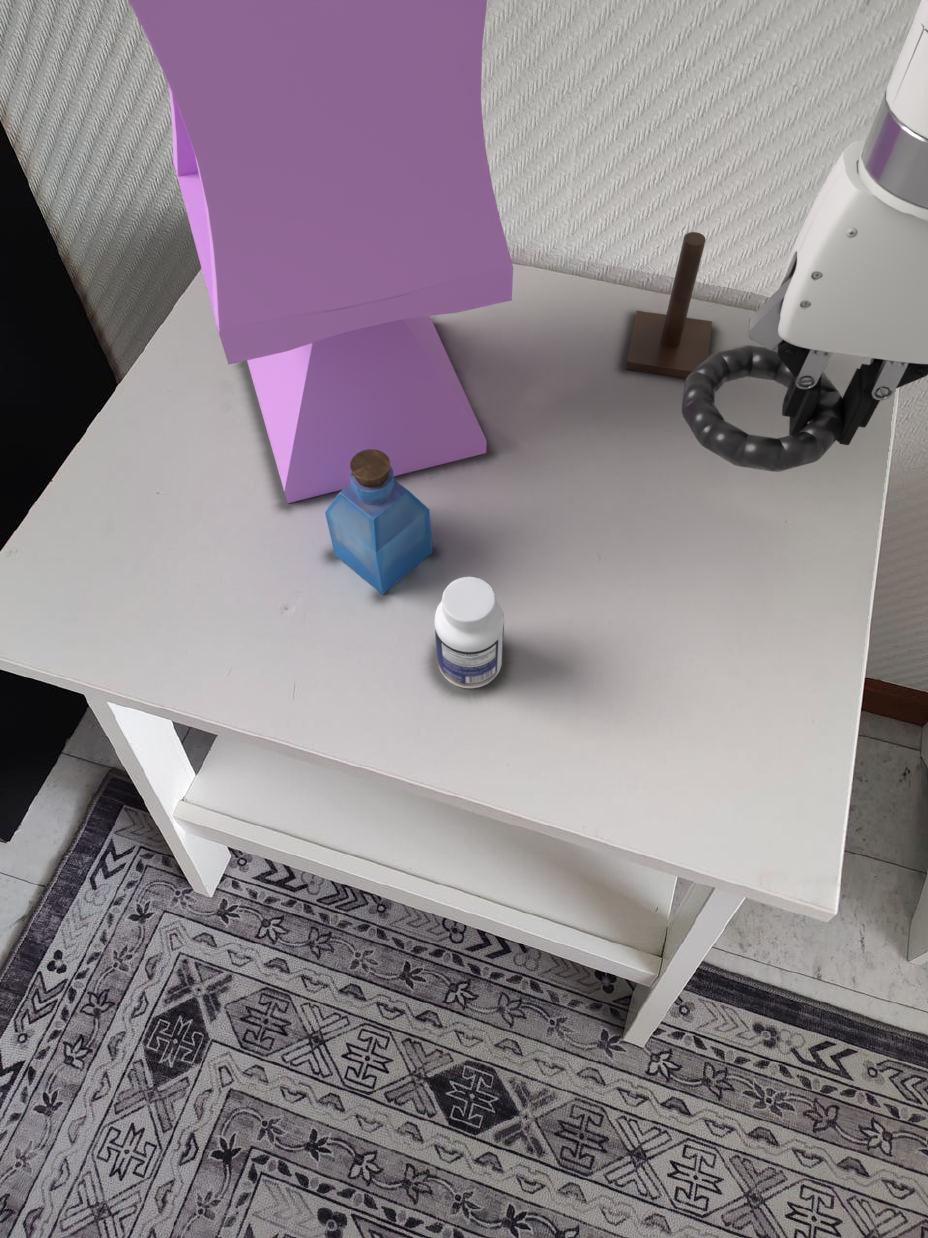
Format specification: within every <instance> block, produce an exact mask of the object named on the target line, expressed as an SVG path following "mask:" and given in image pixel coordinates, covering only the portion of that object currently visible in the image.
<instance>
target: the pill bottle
mask: <svg viewBox="0 0 928 1238" xmlns="http://www.w3.org/2000/svg"><path fill="white" fill-rule="evenodd" d="M504 615H505V614H504V611H503V608H502V606H501V604H500V603H499V601H498V599H496V594H495V591H494V589H493V588H492V586H491V585H490V584H489V583H488V582H487V581H485V580H484V579H482V578H480V577H474V576H463V577H459V578H457V579H454V580H453V581H451V582H449V584H448V585H447V586H445V589H444V590H443V593H442V597H441V600H440V602H439V603H438V605H437V608H436V610H435V613H434V635H435V645H436V657H437V663H438V668H439V671H440V672H441V674H442V676H443V677H444V678H445V680H447V681H448V682H450V683H451V684H453V685H454V686H457V687H460V688H464V689H477V688H481V687H484V686H486V685H489V684H490V683H491V682H493V680H494V679H496V677H497V676H498V674H499V673H500V671H501V668H502V665H503V657H504V634H505V633H504V632H505V616H504Z"/></svg>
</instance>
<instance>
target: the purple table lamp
mask: <svg viewBox="0 0 928 1238" xmlns="http://www.w3.org/2000/svg"><path fill="white" fill-rule="evenodd" d="M128 3H129V5H130V6H131V9H132V10H133V13H134V14H135V16H136V18H137V20H138V22H139V24H140V26H141V28H142V31H143V32H144V34H145V36H146V38H147V41H148V43H149V45H150V47H151V49H152V51H153V53H154V56H155V57H156V59H157V62H158V64H159V66H160V68H161V69H162V72H163V75H164V77H165V79H166V82H167V84H168V91H169V101H170V114H171V127H172V128H171V130H172V131H171V132H172V133H171V134H172V156H173V157H172V163H173V166H174V170H175V174H176V177H177V181H178V185H179V189H180V192H181V197H182V200H183V204H184V208H185V211H186V214H187V218H188V222H189V225H190V230H191V234H192V238H193V241H194V245H195V249H196V253H197V256H198V260H199V264H200V267H201V271H202V275H203V278H204V283H205V287H206V290H207V294H208V298H209V302H210V306H211V309H212V314H213V318H214V321H215V324H216V325H215V326H216V328H217V333H218V335H219V338H220V342H221V345H222V348H223V352H224V354H225V358H226V361H227V365H233V364H237V363H242V362H247V365H248V369H249V372H250V376H251V380H252V382H253V386H254V390H255V394H256V397H257V400H258V401H257V402H258V404H259V407H260V411H261V415H262V418H263V422H264V426H265V430H266V433H267V436H268V439H269V444H270V446H271V450H272V454H273V457H274V461H275V464H276V468H277V472H278V474H279V478H280V481H281V485H282V489H283V492H284V496H285V499H286V500H285V501H286V503H287V504H292V503H295V502H299V501H303V500H307V499H311V498H315V497H318V496H323V495H327V494H331V493H334V492H338V491H339V492H340V491H342V490H344V489H345V488H346V487H347V486H349V485H350V484H351V480H350V472H351V469H350V462H351V460H352V458H353V457H354V456H355V455H356V454H357V453H359V452H361V451H363V450H367V449H375V450H380V451H382V452H384V453H385V454H386V455H387V456H388V457H389V460H390V466H391V467H392V470H393V474H394V477H398V476H401V475H405V474H409V473H413V472H417V471H421V470H425V469H428V468H433V467H437V466H440V465H441V466H442V465H445V464H449V463H452V462H456V461H460V460H464V459H468V458H472V457H476V456H480V455H484V454H487V439H486V436H485V435H484V432H483V430H482V428H481V426H480V423H479V421H478V419H477V416H476V414H475V412H474V410H473V408H472V406H471V404H470V401H469V400H468V396H467V395H466V393H465V390H464V388H463V386H462V383H461V382H460V379H459V378H458V375H457V373H456V371H455V368H454V366H453V363H452V361H451V360H450V357H449V355H448V353H447V351H446V349H445V347H444V345H443V343H442V342H443V341H442V340H441V338H440V336H439V333H438V331H437V329H436V326H435V324H434V322H433V320H432V318H431V317H433V316H434V317H435V316H439V315H440V316H443V315H449V314H457V313H458V314H459V313H462V312H466V311H470V310H476V309H479V308H485V307H488V306H493V305H498V304H501V303H507V302H510V301H511V302H512V300H513V281H514V280H513V278H514V266H513V262H512V257H511V254H510V249H509V246H508V243H507V240H506V235H505V231H504V229H503V224H502V221H501V217H500V213H499V208H498V204H497V200H496V196H495V192H494V188H493V181H492V176H491V171H490V170H491V169H490V165H489V159H488V155H487V149H486V143H485V142H486V140H485V130H484V119H483V108H482V69H483V46H484V45H483V43H484V36H485V35H484V34H485V25H486V15H487V6H488V0H128Z"/></svg>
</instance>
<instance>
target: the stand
mask: <svg viewBox="0 0 928 1238" xmlns="http://www.w3.org/2000/svg"><path fill="white" fill-rule="evenodd" d="M706 241H707V239H706V236H705V235H704V234H702V233H700V232H697V231H690V232H687V233H685V234H684V235H683V240H682V244H681V248H680V252H679V257H678V262H677V265H676V270H675V274H674V275H675V276H674V279H673V284H672V288H671V292H670V293H671V294H670V297H669V301H668V305H667V310H666V314H665V313H657V312H650V311H644V310H636V312H635V318H634V324H633V328H632V333H631V338H630V344H629V349H628V353H627V359H626V364H625V369H626V370H630V371H631V370H632V371H637V372H643V373H652V374H656V375H663V376H671V377H678V378H683V379H686V378H687V377H688V376H689V375H690V374H691V373H692V372H693V371H694V370H695V369H696V368H697V367H698V366H699V365H700V364H701V363H702V362H703V361H704V360H706V359H707V358H708V357H709V351H710V344H711V335H712V328H713V327H712V326H713V320H706V319H699V318H692V317H687V316H688V312H689V309H690V304H691V300H692V298H693V297H692V296H693V292H694V289H695V284H696V281H697V276H698V272H699V269H700V265H701V261H702V257H703V252H704V249H705V244H706Z"/></svg>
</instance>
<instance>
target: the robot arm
mask: <svg viewBox="0 0 928 1238" xmlns="http://www.w3.org/2000/svg"><path fill="white" fill-rule="evenodd" d="M747 336H748V339H750V340H751V341H752V342H754V343H756V344H757V345H760V346H761V347H765V348H767V349H769V350H770V351H772V350H773V351H775V352H777V353H778V356H779V358H780V359H781V360H782V362H783V363H784V364H785V365H786V367H787V368H788V369H789V370H790V372H791V373H792V374H793V378H792V380H791V383H790V385H789V387H788V388H787V390H786V393H785V394H784V398H783V401H782V408H781V416H782V417H787V418H788V417H789V421H788V422H789V425H788V426H789V427H788V430H789V431H788V436H789V435H792V434H796V433H800V432H801V430H802V429H803V428H804V427H805V426H806V425H807V424H808V423H809V420H810V418H811V415H812V413H813V411H814V409H815V407H816V405H817V403H818V400H819V398H820V395H821V374H822V372H824V370H825V368H826V366H827V364H828V362H829V360H830V359H831V356H832V355H833V354H840V355H847V356H852V357H853V356H854V357H861V358H868V359H870V361H869V363H868V364H867V363H861V365H860V367H859V368H858V367H857V368H856V369H855V371H854V373H853V375H852V377H851V379H850V381H849V383H848V386H847V387H846V389H845V392H844V393H843V395H842V399H843V431H842V434H841V435H840V437H839V438H838V439H837V440H836V442H838V444H839V445H844V446H849V445H850V444H851V442H852V440H853V438H854V437H855V435H856V433H857V431H858V429H859V428H866V427H867V426H868V423H869V422H870V420H871V418H872V417H873V415H874V413H875V411H876V409H877V407H878V405H880V402H881V401H884V400H888V399H890V398H891V397H893V395H894V393H895V391H896V389H898V388H899V389H900V388H901V387H903V386H906V385H908V384H911V383H913V382H916V381H919V380H921V379H923V378H925V377H927V376H928V0H920V3H919V5H918V8H917V10H916V12H915V15H914V18H913V20H912V24H911V26H910V29H909V31H908V34H907V37H906V39H905V41H904V44H903V46H902V49H901V51H900V54H899V56H898V59H897V61H896V64H895V66H894V68H893V72H892V74H891V76H890V79H889V81H888V84H887V87H886V89H885V91H884V94H883V96H882V98H881V101H880V104H879V107H878V108H877V112H876V114H875V117H874V119H873V122H872V125H871V127H870V129H869V132H868V135H867V137H866V140H862V139H861V140H855V141H853V142H851V143H850V144H848V145H847V146H845V148H844V150H843V151H842V153H841V154H840V156H839V157H838V159H837V161H836V162H835V164H834V165H833V167H832V169H831V170H830V172H829V174H828V175H827V177H826V179H825V181H824V182H823V185H822V186H821V188H820V190H819V192H818V194H817V196H816V198H815V200H814V202H813V203H812V206H811V207H810V210H809V212H808V214H807V215H806V218H805V221H804V223H803V224H802V227H801V229H800V231H799V233H798V236H797V238H796V240H795V242H794V244H793V247H792V249H791V250H790V254H789V256H788V258H787V261H786V263H785V266H784V269H783V271H782V274H781V278H780V281H779V286H778V289H777V290H776V291H775V292H774V293H773V294H772V295H771V296H770V297H769V298H768V299H767V300H766V301H765V302H764V303H763V304H762V305H761V306H760V307H759V308H758V309H757V310H756V311H755V312H754V313H753V314H752V315H751V316H750V318H749V319H748V333H747Z"/></svg>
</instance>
